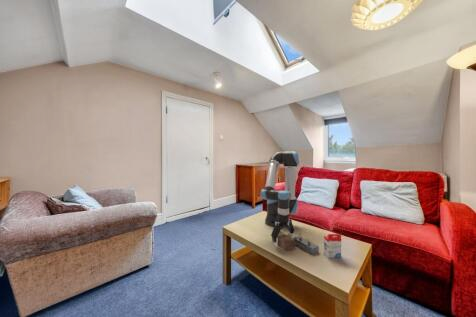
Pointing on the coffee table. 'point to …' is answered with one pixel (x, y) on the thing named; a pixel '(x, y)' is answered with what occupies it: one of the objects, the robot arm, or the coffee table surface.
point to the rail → (306, 244)
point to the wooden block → (285, 241)
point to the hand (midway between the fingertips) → (283, 244)
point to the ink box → (332, 245)
